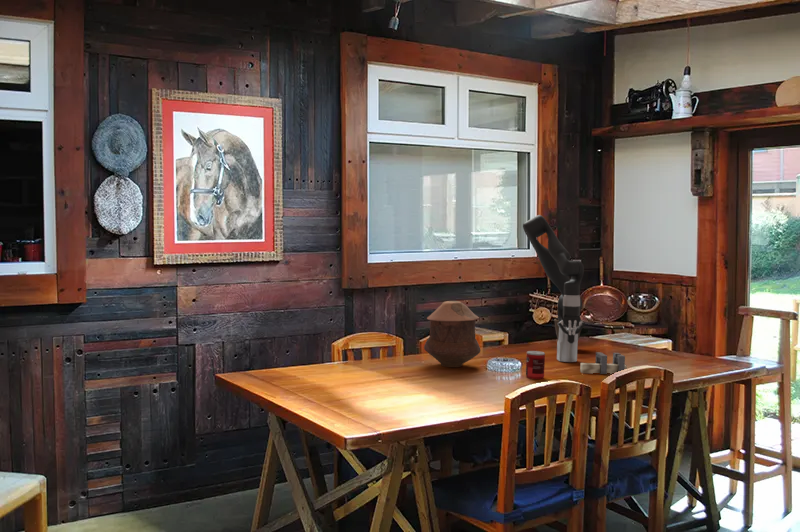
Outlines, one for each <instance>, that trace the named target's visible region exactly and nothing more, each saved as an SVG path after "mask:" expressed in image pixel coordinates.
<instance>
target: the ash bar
mask: <svg viewBox="0 0 800 532" xmlns="http://www.w3.org/2000/svg"><path fill="white" fill-rule="evenodd" d="M579 364H580V367H579V368H580V369H579V372H580V373H581V374H593V373H600V363H593V362H580V363H579ZM625 369H627V370H628V366H627V365H626V364H625ZM617 370H618V364H613V363H607V373H610V374H609V375H613V374H612V373H615V372H617Z"/></svg>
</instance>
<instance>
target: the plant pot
mask: <svg viewBox="0 0 800 532" xmlns="http://www.w3.org/2000/svg"><path fill="white" fill-rule="evenodd" d="M553 320H554V328H555V334H556V340H557V341H558V340H559V326H558V325H557V323H558V322H559V320H558V318H554V319H553ZM581 321H582V322H584V321H583V319H581ZM578 326H579V324H578ZM581 332H582V330H581V331H580V332H579V333H578V340H580V339H579V338H580V335H581Z"/></svg>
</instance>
